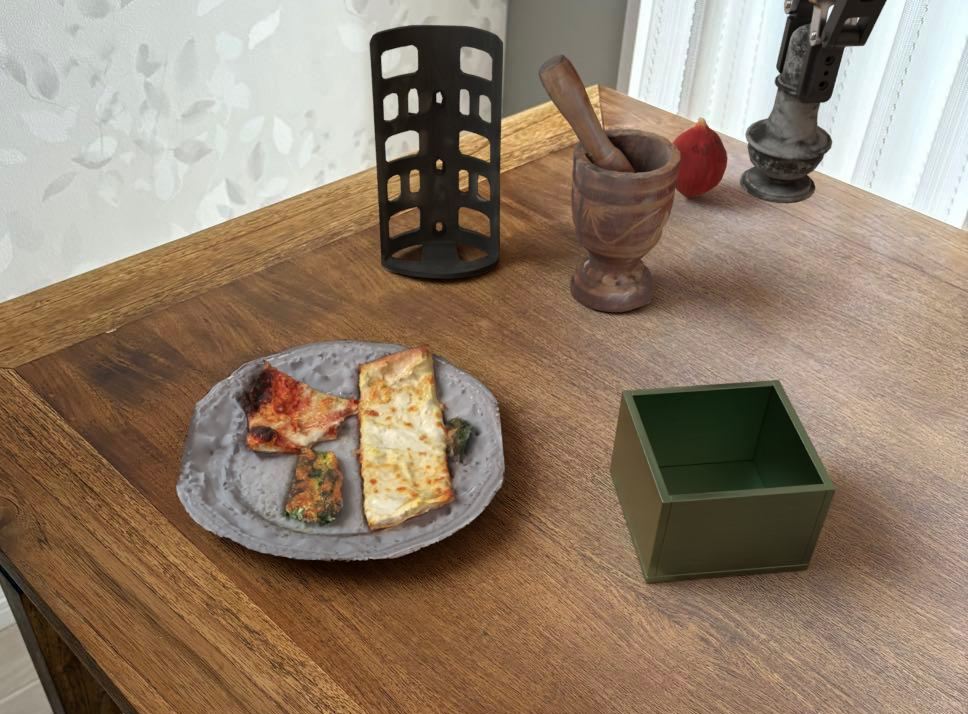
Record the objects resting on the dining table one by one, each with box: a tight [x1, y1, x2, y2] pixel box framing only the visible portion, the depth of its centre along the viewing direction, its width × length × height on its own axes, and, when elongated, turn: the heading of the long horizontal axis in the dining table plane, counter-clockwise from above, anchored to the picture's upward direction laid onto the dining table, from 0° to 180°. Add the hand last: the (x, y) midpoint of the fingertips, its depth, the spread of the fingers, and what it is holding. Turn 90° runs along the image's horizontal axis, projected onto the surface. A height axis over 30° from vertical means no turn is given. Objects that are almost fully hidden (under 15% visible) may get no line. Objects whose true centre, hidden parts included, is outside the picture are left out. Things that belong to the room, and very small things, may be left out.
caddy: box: [609, 379, 837, 584], centre depth 76 cm, size 11×11×8 cm
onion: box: [672, 117, 728, 199], centre depth 107 cm, size 6×6×8 cm
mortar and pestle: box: [537, 53, 681, 313], centre depth 91 cm, size 12×9×20 cm
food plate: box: [175, 338, 506, 563], centre depth 82 cm, size 25×23×4 cm
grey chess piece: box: [739, 23, 833, 204], centre depth 75 cm, size 6×6×12 cm
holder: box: [369, 24, 504, 280], centre depth 96 cm, size 11×8×20 cm
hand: (802, 85), depth 74 cm, fingers closed on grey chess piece, 3 cm apart
